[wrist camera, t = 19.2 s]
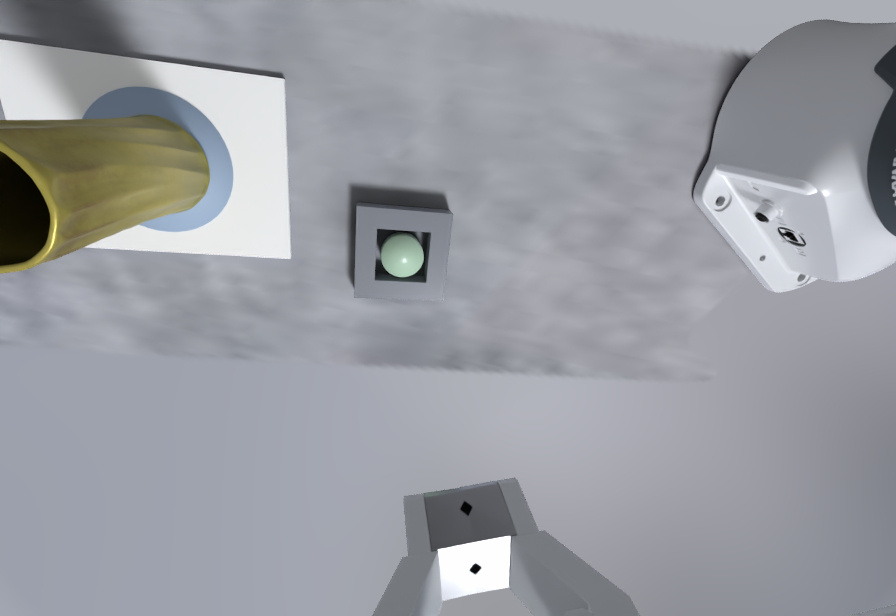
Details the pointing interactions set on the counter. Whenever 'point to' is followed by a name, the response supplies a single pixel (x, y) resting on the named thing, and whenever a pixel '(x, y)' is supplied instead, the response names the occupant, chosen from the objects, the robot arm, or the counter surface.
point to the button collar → (405, 220)
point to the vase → (90, 182)
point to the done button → (402, 254)
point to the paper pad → (199, 113)
